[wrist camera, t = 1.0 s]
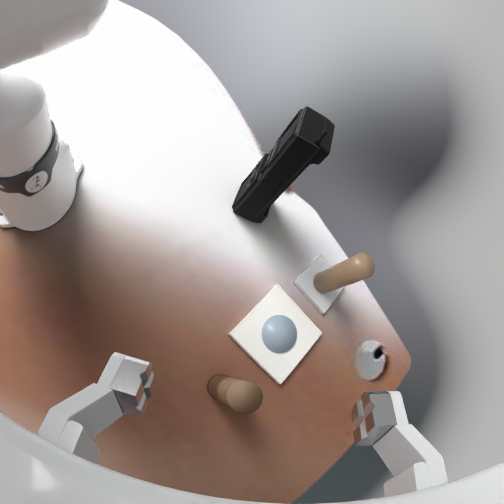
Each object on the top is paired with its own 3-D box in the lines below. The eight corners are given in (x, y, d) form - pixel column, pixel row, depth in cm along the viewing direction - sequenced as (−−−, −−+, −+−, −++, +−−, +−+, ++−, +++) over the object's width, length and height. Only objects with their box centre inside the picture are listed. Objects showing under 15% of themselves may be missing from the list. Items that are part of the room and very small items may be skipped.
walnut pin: (201, 387, 41) (223, 399, 31) (219, 369, 43) (246, 374, 33) (220, 404, 41) (247, 419, 31) (237, 386, 43) (269, 396, 33)
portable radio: (243, 178, 56) (307, 85, 34) (270, 192, 57) (345, 108, 35) (229, 211, 53) (296, 117, 31) (259, 225, 54) (340, 143, 32)
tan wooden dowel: (293, 282, 53) (336, 261, 41) (317, 255, 57) (360, 230, 45) (321, 314, 53) (369, 301, 41) (342, 285, 57) (389, 267, 45)
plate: (228, 334, 46) (230, 333, 44) (275, 285, 51) (278, 283, 50) (278, 383, 46) (281, 384, 45) (319, 333, 51) (322, 332, 50)
